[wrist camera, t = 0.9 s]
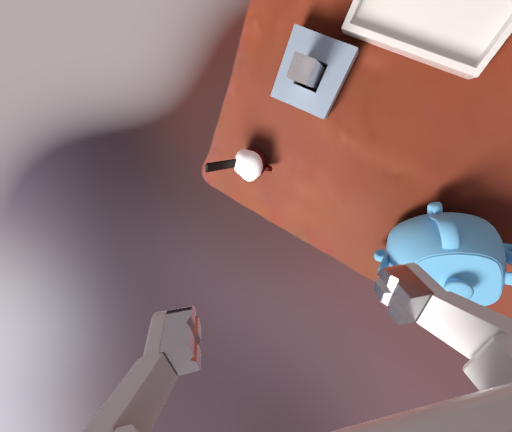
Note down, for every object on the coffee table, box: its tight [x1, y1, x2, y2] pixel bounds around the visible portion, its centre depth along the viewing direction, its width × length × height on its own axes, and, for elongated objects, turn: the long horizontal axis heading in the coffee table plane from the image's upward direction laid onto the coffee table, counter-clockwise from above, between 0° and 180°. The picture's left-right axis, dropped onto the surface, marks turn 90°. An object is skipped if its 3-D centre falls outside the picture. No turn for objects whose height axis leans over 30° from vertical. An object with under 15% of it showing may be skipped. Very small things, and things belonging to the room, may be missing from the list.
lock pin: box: [286, 51, 326, 89], centre depth 34 cm, size 3×3×11 cm
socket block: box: [271, 24, 358, 119], centre depth 37 cm, size 10×10×4 cm
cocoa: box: [205, 149, 272, 182], centre depth 44 cm, size 10×6×12 cm, turn 57°
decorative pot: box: [374, 202, 512, 306], centre depth 37 cm, size 16×16×14 cm
